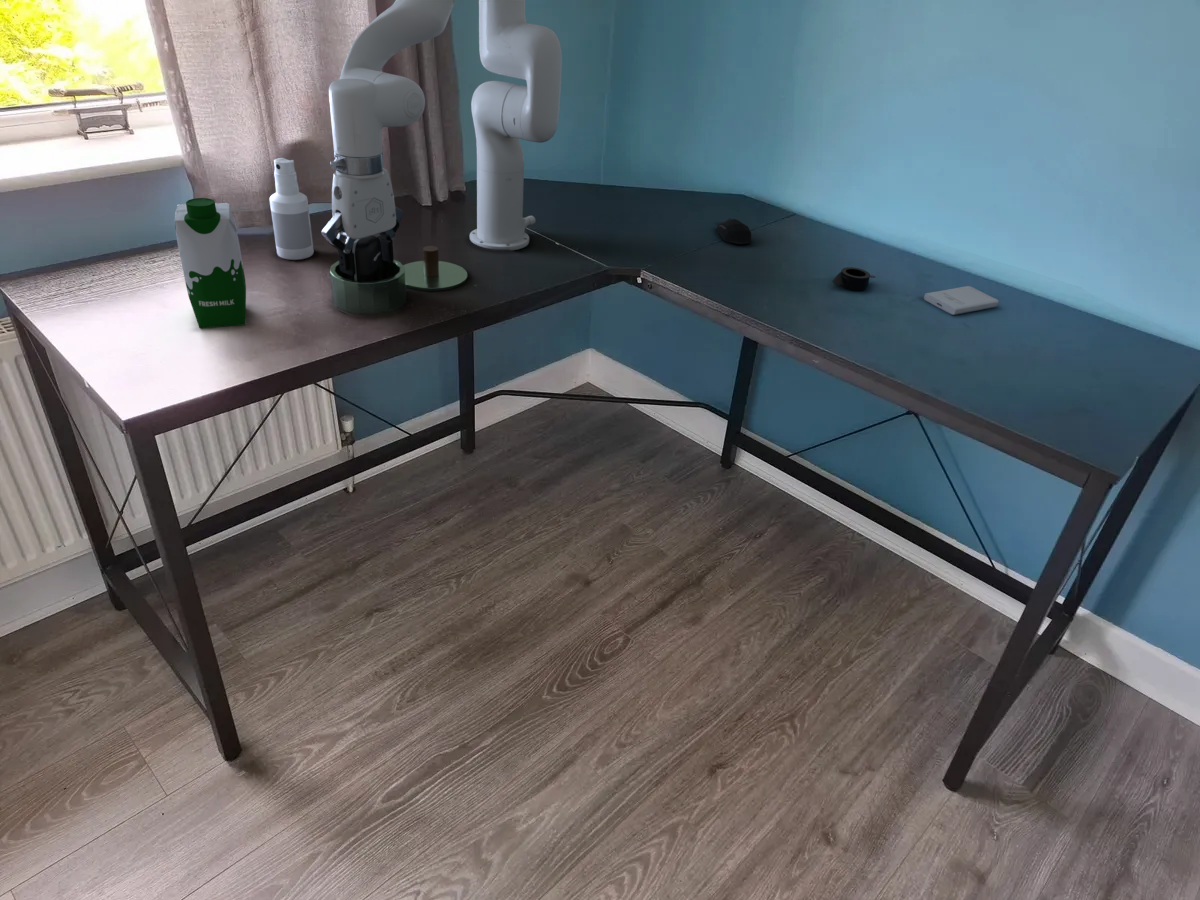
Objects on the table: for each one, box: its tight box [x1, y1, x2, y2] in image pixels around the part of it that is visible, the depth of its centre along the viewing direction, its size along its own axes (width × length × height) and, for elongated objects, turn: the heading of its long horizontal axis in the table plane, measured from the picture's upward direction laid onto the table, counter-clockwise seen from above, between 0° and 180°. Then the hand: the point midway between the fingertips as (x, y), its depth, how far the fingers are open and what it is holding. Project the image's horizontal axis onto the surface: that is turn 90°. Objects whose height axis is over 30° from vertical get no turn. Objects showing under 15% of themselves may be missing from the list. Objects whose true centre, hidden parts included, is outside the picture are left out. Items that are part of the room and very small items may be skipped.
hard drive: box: [923, 285, 1000, 316], centre depth 169 cm, size 2×8×12 cm
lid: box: [402, 245, 468, 292], centre depth 157 cm, size 13×13×6 cm
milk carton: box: [174, 197, 247, 329], centre depth 133 cm, size 9×9×20 cm
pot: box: [329, 259, 407, 316], centre depth 146 cm, size 12×12×6 cm
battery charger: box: [350, 235, 382, 282], centre depth 144 cm, size 7×4×11 cm, turn 175°
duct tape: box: [831, 266, 876, 293], centre depth 172 cm, size 8×10×3 cm
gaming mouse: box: [716, 218, 752, 245], centre depth 192 cm, size 6×15×4 cm, turn 12°
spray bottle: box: [268, 157, 315, 261], centre depth 158 cm, size 7×7×18 cm
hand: (367, 266), depth 144 cm, fingers open, 7 cm apart
